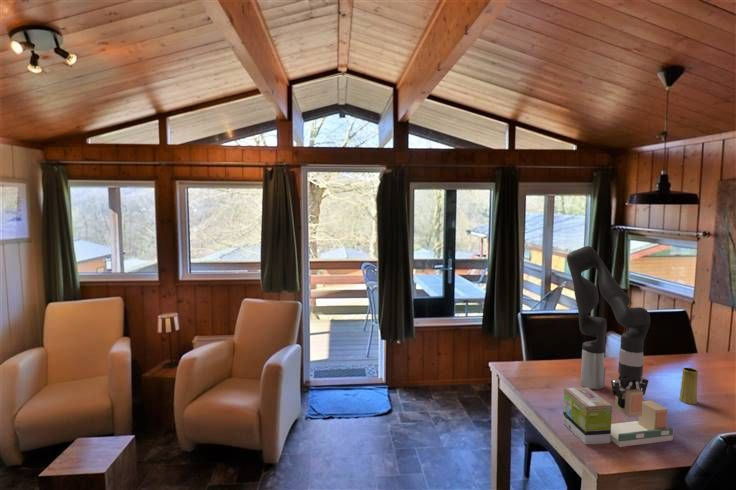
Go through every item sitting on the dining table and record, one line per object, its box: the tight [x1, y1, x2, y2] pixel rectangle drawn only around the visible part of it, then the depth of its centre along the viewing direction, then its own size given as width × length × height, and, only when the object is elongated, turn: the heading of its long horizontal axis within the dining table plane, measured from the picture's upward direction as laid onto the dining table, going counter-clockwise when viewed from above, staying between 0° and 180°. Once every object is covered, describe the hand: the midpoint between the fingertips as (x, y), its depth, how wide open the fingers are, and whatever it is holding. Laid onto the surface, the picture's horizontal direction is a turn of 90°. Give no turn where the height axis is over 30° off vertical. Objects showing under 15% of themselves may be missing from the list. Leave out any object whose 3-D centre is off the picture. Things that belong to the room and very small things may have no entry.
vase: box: [679, 367, 699, 405], centre depth 181 cm, size 6×6×14 cm
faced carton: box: [637, 400, 668, 430], centre depth 156 cm, size 5×7×9 cm
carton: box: [614, 387, 644, 418], centre depth 153 cm, size 5×7×9 cm
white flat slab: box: [610, 420, 674, 448], centre depth 155 cm, size 22×11×4 cm, turn 101°
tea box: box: [562, 386, 613, 445], centre depth 156 cm, size 15×10×15 cm, turn 5°
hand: (628, 406), depth 154 cm, fingers closed on carton, 5 cm apart
